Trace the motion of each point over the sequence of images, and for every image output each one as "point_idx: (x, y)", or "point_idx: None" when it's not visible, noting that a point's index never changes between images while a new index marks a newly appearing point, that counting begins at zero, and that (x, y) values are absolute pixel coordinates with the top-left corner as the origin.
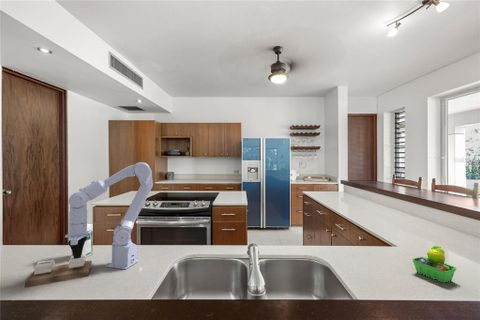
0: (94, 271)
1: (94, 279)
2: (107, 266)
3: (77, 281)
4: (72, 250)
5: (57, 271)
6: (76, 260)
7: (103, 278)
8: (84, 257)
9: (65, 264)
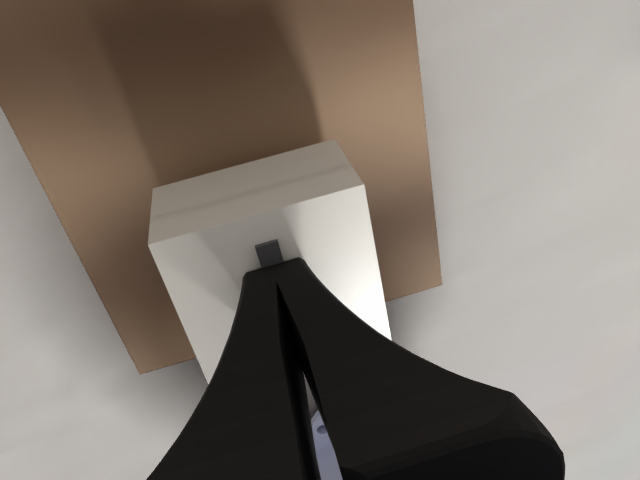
0: None
1: (59, 419)
2: (314, 418)
3: (17, 298)
4: (215, 381)
5: (155, 10)
6: (182, 324)
7: (76, 472)
8: None
9: (405, 4)
